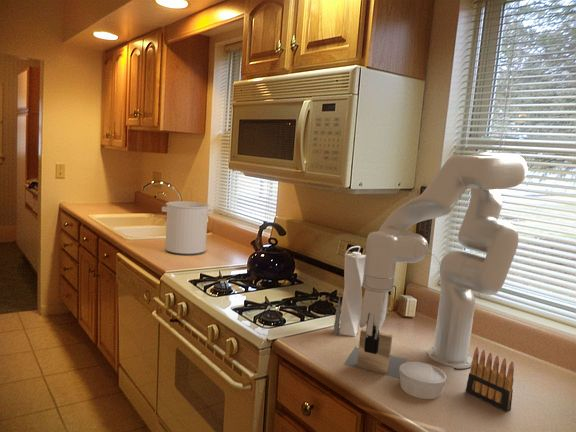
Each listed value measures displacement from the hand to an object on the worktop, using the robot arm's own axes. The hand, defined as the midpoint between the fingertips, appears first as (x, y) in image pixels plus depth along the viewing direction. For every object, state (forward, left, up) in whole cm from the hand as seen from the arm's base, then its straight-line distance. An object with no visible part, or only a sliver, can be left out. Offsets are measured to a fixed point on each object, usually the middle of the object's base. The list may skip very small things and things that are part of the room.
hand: (370, 351), depth 120 cm
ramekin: (-1, +13, -8) cm, 15 cm away
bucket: (-89, -116, -8) cm, 146 cm away
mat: (-10, 0, -8) cm, 13 cm away
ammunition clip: (-5, +28, -8) cm, 30 cm away
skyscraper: (-27, -13, -8) cm, 31 cm away
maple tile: (-6, 0, -7) cm, 9 cm away
